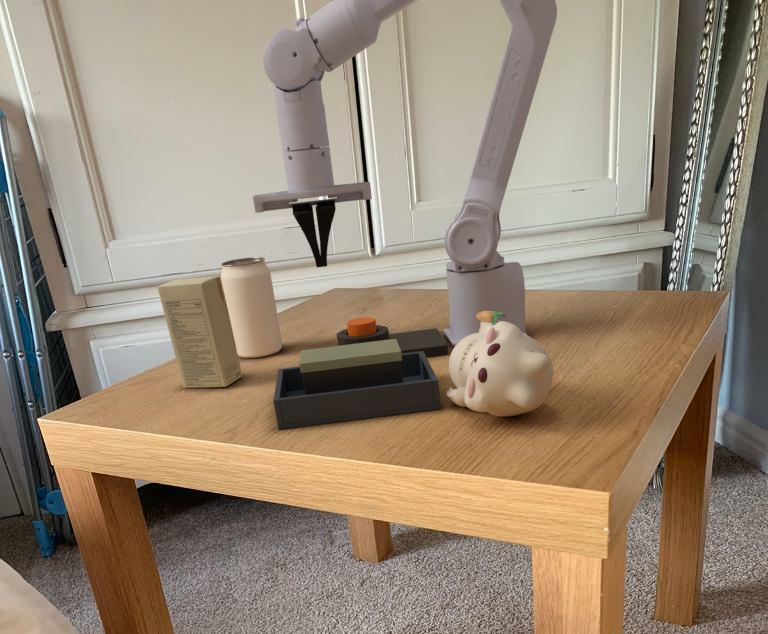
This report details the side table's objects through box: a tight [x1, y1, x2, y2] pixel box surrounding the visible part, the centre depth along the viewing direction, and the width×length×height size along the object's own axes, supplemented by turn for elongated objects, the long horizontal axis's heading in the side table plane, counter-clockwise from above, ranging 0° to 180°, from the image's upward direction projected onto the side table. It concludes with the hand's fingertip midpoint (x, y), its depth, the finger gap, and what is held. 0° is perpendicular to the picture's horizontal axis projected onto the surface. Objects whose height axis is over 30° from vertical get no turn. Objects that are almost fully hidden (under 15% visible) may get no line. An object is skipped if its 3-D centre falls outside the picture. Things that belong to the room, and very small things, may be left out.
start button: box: [346, 316, 377, 336], centre depth 94 cm, size 4×4×2 cm
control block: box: [336, 324, 449, 358], centre depth 95 cm, size 13×9×3 cm
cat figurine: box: [445, 311, 554, 417], centre depth 71 cm, size 10×8×15 cm
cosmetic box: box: [157, 275, 243, 389], centre depth 89 cm, size 6×4×12 cm
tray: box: [272, 351, 441, 430], centre depth 79 cm, size 16×11×3 cm
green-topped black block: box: [299, 339, 403, 395], centre depth 78 cm, size 10×5×5 cm, turn 95°
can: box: [220, 256, 283, 360], centre depth 100 cm, size 6×6×12 cm
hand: (321, 265), depth 97 cm, fingers closed
